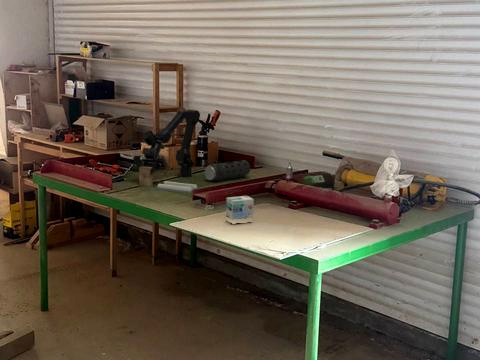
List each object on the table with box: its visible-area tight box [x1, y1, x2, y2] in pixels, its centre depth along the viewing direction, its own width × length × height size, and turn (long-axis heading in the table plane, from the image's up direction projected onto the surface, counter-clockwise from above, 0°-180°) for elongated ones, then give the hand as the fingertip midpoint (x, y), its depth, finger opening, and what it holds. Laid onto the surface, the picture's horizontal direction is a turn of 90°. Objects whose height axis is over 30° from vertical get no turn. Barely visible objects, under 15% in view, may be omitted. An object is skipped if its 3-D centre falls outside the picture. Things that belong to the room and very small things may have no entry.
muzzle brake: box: [204, 159, 251, 182], centre depth 339 cm, size 10×28×10 cm, turn 133°
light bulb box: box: [225, 195, 255, 220], centre depth 256 cm, size 11×7×11 cm, turn 117°
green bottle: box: [280, 170, 336, 189], centre depth 316 cm, size 39×10×10 cm, turn 124°
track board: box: [156, 180, 199, 194], centre depth 312 cm, size 11×19×2 cm, turn 70°
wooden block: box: [138, 165, 154, 188], centre depth 317 cm, size 4×6×10 cm, turn 70°
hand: (144, 173), depth 316 cm, fingers closed on wooden block, 6 cm apart
